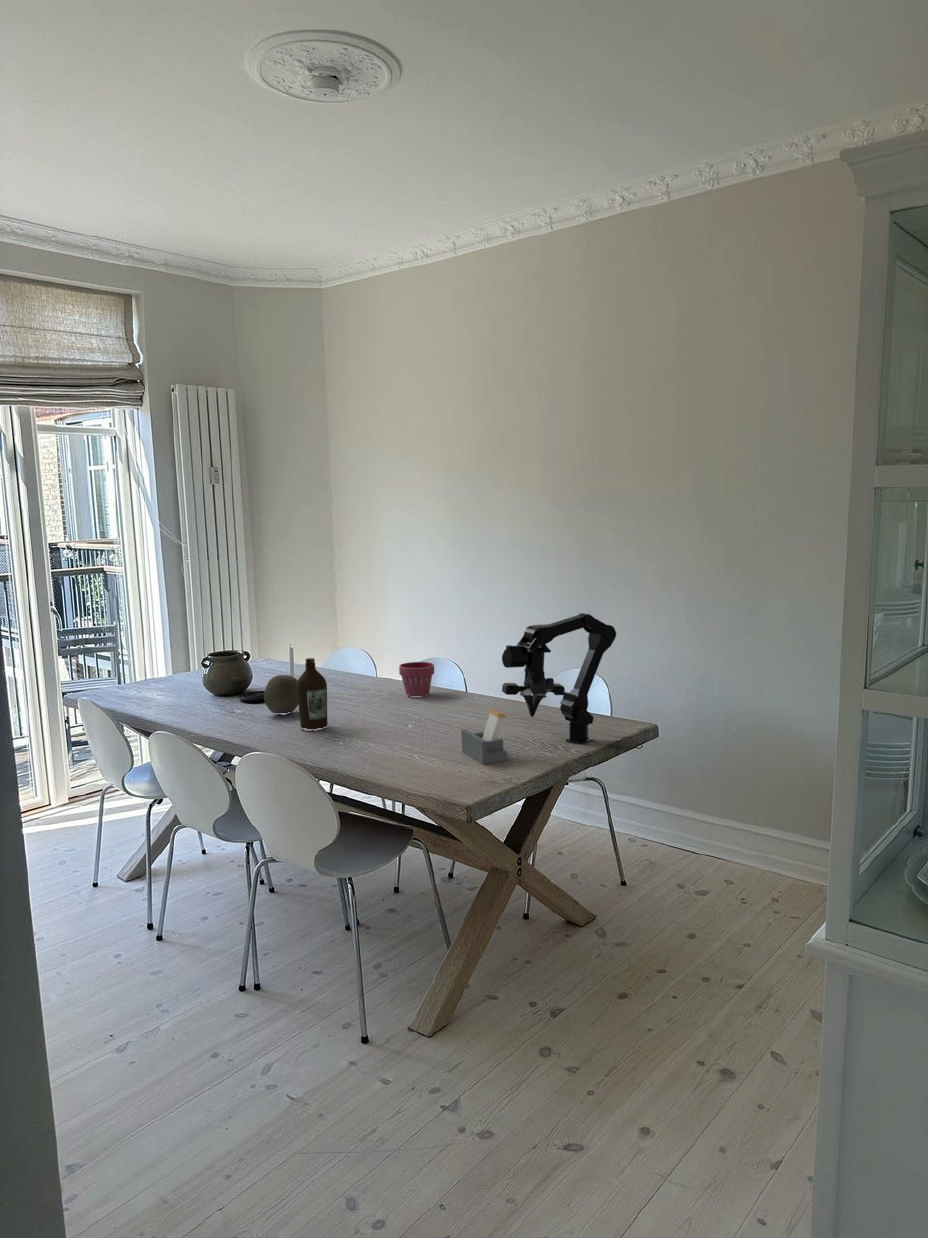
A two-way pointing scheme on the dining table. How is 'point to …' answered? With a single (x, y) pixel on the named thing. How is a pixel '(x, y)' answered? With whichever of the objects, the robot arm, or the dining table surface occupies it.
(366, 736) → the dining table surface
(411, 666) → the plant pot
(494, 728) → the breaker lever
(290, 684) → the cantaloupe
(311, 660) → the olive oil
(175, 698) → the dining table surface
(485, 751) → the breaker box
